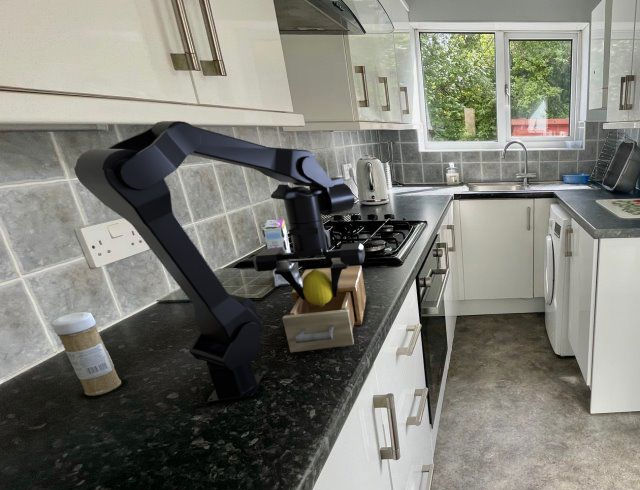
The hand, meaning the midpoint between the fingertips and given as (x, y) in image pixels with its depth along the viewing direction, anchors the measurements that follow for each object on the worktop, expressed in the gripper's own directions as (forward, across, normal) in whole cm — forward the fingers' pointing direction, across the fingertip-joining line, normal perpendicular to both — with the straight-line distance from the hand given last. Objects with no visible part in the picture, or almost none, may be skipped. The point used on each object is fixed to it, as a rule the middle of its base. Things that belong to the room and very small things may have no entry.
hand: (320, 297), depth 82 cm
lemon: (+2, 0, 0) cm, 2 cm away
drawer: (+8, 0, +2) cm, 8 cm away
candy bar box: (+9, +17, -40) cm, 44 cm away
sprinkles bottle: (+9, +34, +9) cm, 36 cm away
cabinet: (+9, 0, -12) cm, 15 cm away
